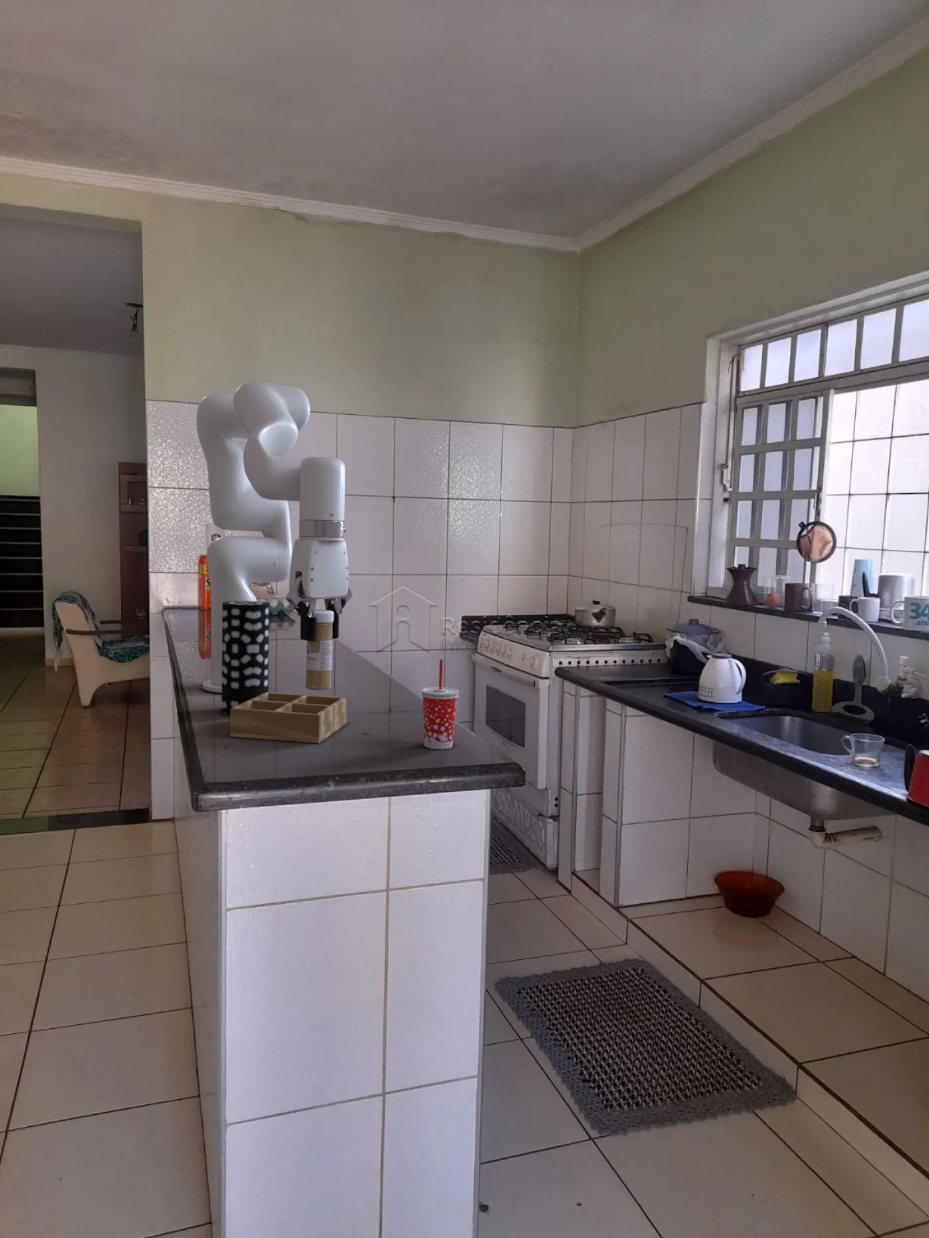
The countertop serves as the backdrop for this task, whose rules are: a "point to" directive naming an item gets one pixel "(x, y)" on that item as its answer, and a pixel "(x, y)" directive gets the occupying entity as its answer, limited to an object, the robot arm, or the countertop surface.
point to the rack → (288, 717)
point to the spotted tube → (244, 652)
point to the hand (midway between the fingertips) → (319, 637)
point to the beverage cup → (439, 714)
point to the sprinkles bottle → (320, 653)
